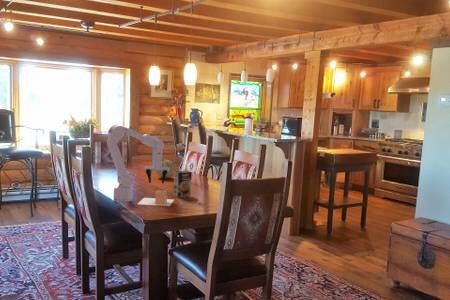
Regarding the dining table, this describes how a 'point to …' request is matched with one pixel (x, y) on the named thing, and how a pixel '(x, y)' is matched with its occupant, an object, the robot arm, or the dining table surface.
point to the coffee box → (182, 183)
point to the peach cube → (161, 197)
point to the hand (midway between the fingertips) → (156, 182)
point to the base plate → (152, 202)
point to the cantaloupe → (167, 165)
